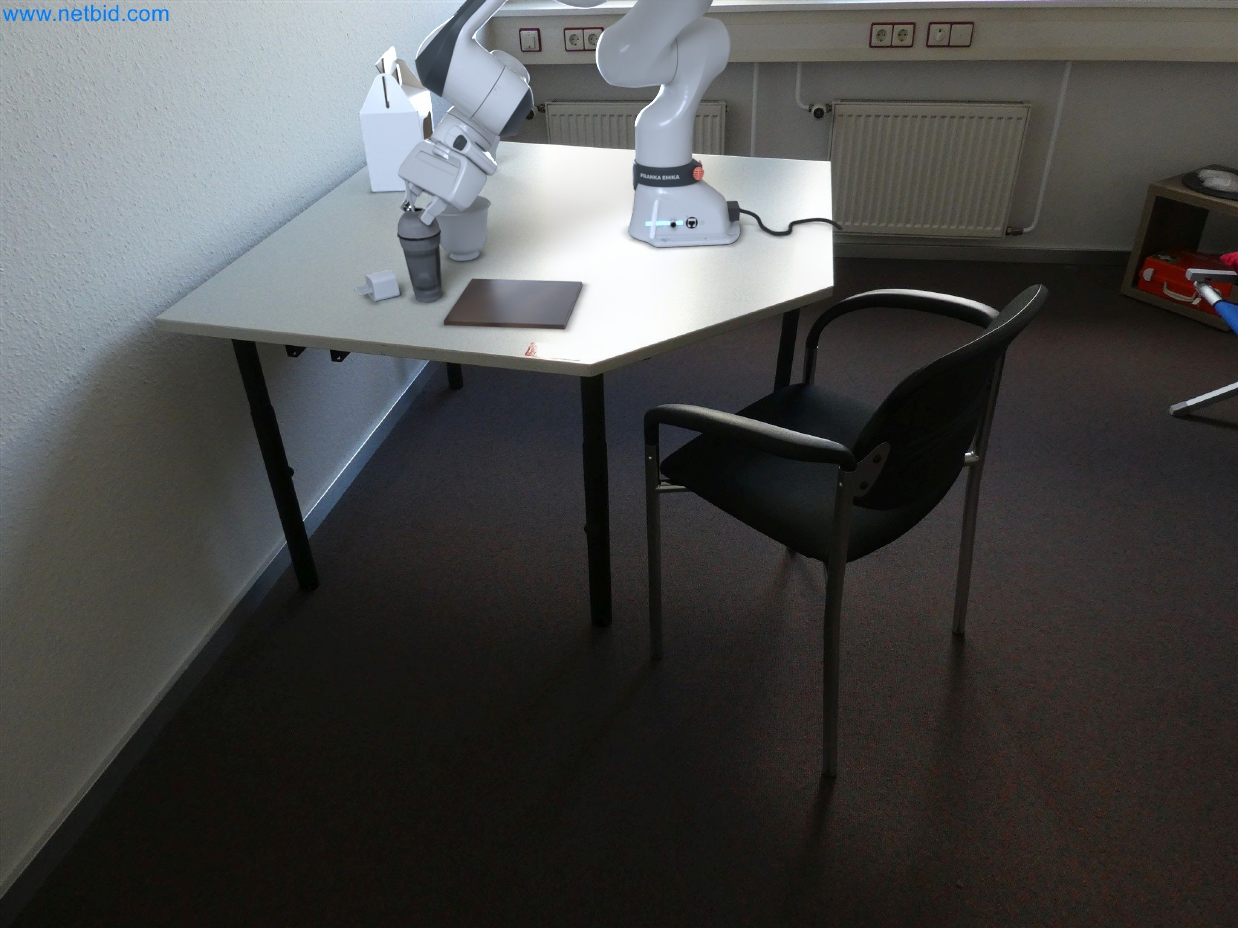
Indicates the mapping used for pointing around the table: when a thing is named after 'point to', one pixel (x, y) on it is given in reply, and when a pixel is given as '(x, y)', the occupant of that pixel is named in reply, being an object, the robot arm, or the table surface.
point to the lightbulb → (494, 147)
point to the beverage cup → (421, 252)
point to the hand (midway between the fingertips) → (413, 216)
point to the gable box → (393, 121)
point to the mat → (515, 303)
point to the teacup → (464, 229)
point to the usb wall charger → (380, 285)
